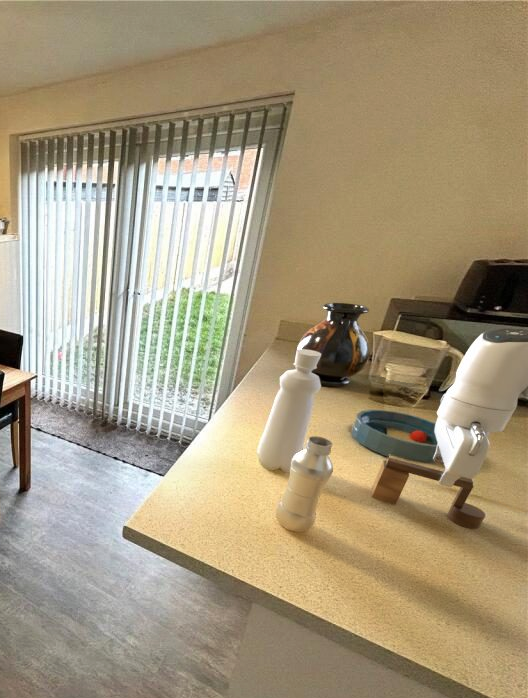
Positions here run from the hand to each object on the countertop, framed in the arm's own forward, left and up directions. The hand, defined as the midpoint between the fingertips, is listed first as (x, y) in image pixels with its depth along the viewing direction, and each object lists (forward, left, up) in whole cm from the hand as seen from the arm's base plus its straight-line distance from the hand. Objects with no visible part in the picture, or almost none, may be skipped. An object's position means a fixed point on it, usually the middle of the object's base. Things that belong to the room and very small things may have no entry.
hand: (441, 473), depth 80 cm
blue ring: (+3, -29, -9) cm, 31 cm away
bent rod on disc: (0, 0, -9) cm, 9 cm away
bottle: (+27, +1, -9) cm, 29 cm away
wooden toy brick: (+6, 0, -9) cm, 11 cm away
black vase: (+22, -73, -9) cm, 77 cm away
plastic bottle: (+21, +23, -9) cm, 33 cm away
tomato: (-1, -33, -7) cm, 34 cm away
